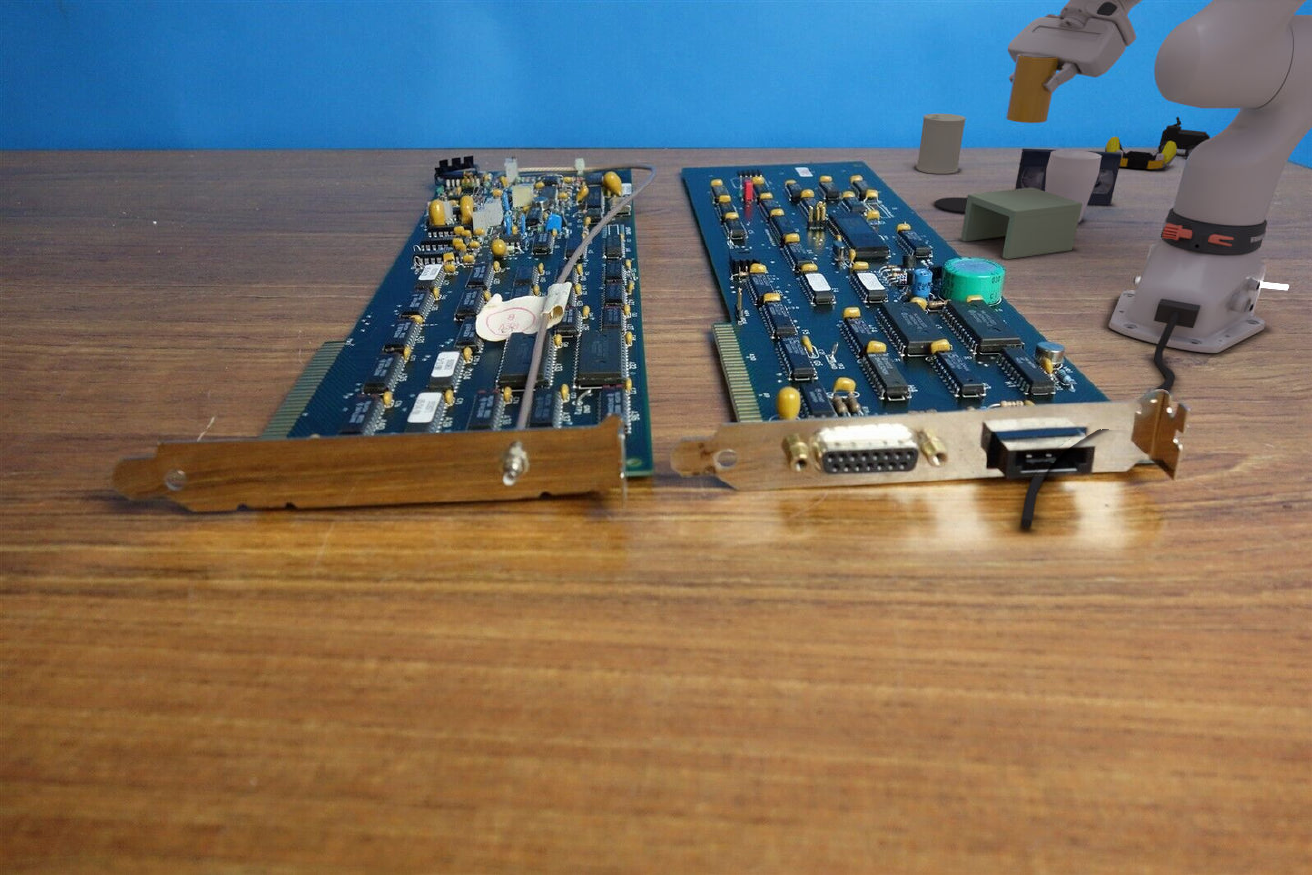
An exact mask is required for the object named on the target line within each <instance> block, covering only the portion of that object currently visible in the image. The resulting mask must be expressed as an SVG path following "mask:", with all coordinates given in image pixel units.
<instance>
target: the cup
mask: <svg viewBox="0 0 1312 875" xmlns="http://www.w3.org/2000/svg"><path fill="white" fill-rule="evenodd" d="M1054 150H1055V151H1052V152H1051V154H1050V158H1049V162H1048V165H1047V169H1046V185H1045V192H1048V193H1051V194H1054V195H1057V196H1060V197H1064V198H1067V199H1070V200H1073V201H1076V202H1079V203H1082V208H1081V212H1080V217H1079V221H1078V223H1080V222H1081V221H1082V220H1083V217H1084V214H1085V211H1086V209H1087V206H1088V201H1089V198H1090V196H1091V193H1092V190H1093V188H1094V185H1095V182H1096V180H1097V177H1098V174H1099V169H1100V162H1101V155H1099V154H1097V153H1093V152H1088V151H1089V150H1081V149H1080V150H1079V149H1054Z"/></svg>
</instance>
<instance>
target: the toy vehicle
mask: <svg viewBox="0 0 1312 875" xmlns="http://www.w3.org/2000/svg"><path fill="white" fill-rule="evenodd" d="M1175 120H1176V123H1174V124H1171V125H1167V126H1166V128H1165V129H1163V130H1162V133H1161V136H1160V141H1159V145H1158V148H1157V151H1158V152H1159V151H1160V150H1161V149H1162V147H1163V146H1164V145H1165V144H1166V143H1167V142H1168V141H1172V142H1175V144H1176V147H1177V150H1183V151H1184V155H1185V157H1186V159H1187V158H1188V156H1189V155H1190V153H1191V152H1192V151H1193V149H1194V148H1195V147H1196V146H1198V145H1199V144H1200V143H1202V142H1204V141H1206V140H1208V139H1210V138H1211V137H1210V135H1209V134H1208V133H1207V132H1206V131H1202V130H1201V131H1200V130H1191V129H1182V126H1181V125H1182V121H1181V119H1180V117H1179V116H1177V117H1175Z"/></svg>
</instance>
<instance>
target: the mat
mask: <svg viewBox="0 0 1312 875" xmlns="http://www.w3.org/2000/svg"><path fill="white" fill-rule="evenodd" d="M967 198H968V197H954V196H953V197H942V198H938V199H937V200H935V201H934V206H935V208H937V209H939V210H941V211H945V212H948V213H952V214H962V215H965V210H966V204H967Z"/></svg>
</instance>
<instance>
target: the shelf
mask: <svg viewBox="0 0 1312 875" xmlns="http://www.w3.org/2000/svg"><path fill="white" fill-rule="evenodd" d="M966 198H967V204H966V210H965V214H964V216H963V217H964V218H963V224H962V229H961V236H960V240H961V241H963V242H971V241H979V240H986V239H987V240H988V239H995V238H1001V237H1002V238H1003V237H1005V240H1004V246H1003V250H1002V251H1003V252H1002V256H1001V257H1002V258H1003V259H1004V260H1010V259H1012V260H1013V259H1018V258H1019V259H1020V258H1026V257H1031V256H1039V255H1047V254H1054V253H1059V252H1067V251H1073V247H1074V244H1075V238H1076V234H1077V230H1078V225H1079V222H1078V221H1079V217H1080V212H1081V208H1082V203H1079V202H1076V201H1073V200H1070V199H1067V198H1064V197H1060V196H1057V195H1054V194H1051V193H1048V192H1045V191H1042V190H1039V189H1035V188H1032V187H1031V188H1022V189H1015V188H1013V189H1005V190H1004V189H1003V190H995V191H988V192H979V193H978V192H977V193H969V194H967V197H966Z"/></svg>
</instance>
